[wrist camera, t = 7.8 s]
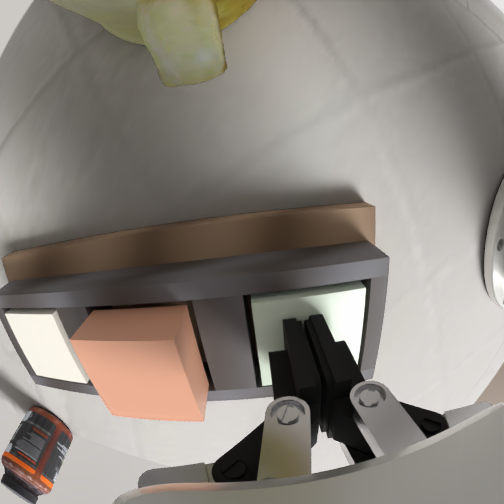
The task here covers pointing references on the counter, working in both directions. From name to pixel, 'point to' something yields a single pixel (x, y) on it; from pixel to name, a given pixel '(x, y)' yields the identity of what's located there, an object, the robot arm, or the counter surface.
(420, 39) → the counter surface
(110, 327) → the key terracotta
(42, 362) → the key cream
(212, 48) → the mug
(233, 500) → the robot arm
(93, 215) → the counter surface
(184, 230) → the key panel
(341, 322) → the key sage
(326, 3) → the counter surface
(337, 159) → the counter surface
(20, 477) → the supplement bottle
